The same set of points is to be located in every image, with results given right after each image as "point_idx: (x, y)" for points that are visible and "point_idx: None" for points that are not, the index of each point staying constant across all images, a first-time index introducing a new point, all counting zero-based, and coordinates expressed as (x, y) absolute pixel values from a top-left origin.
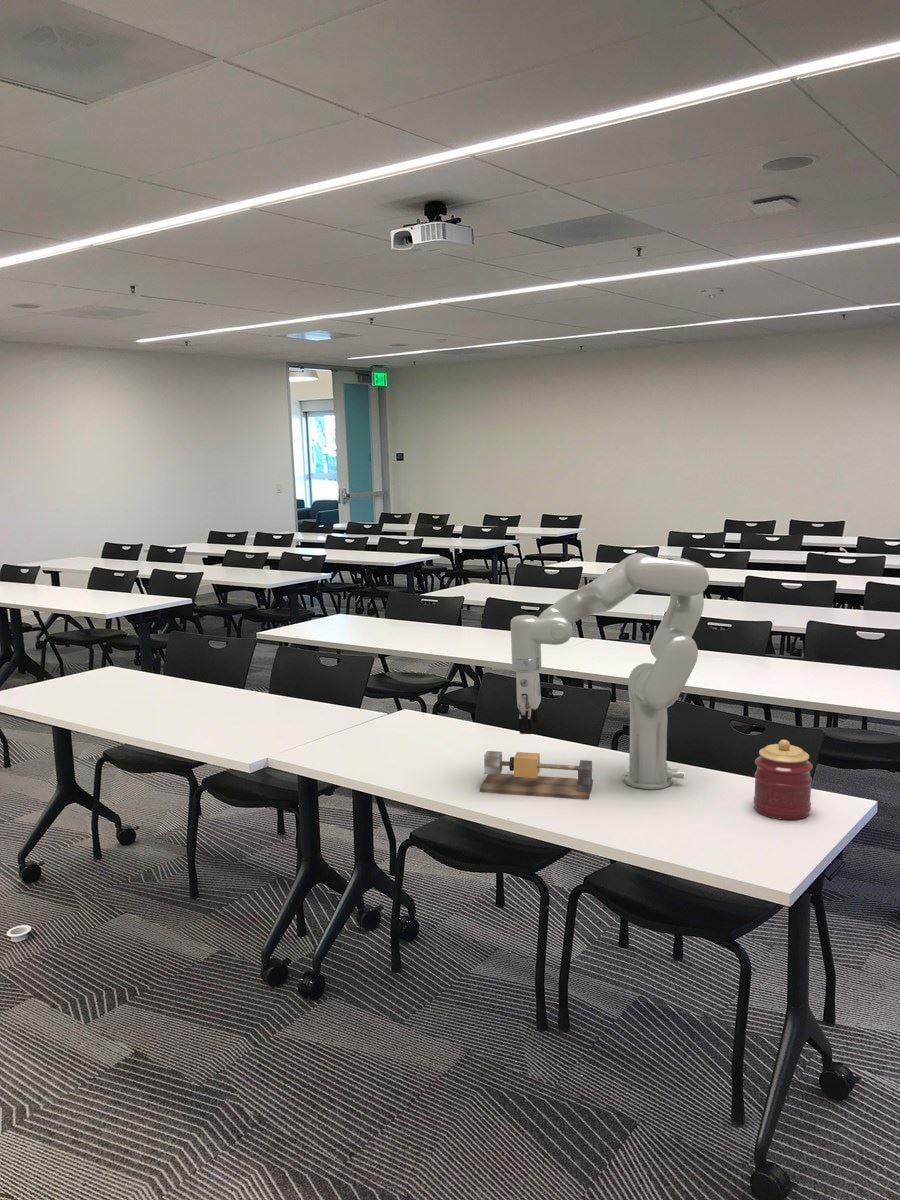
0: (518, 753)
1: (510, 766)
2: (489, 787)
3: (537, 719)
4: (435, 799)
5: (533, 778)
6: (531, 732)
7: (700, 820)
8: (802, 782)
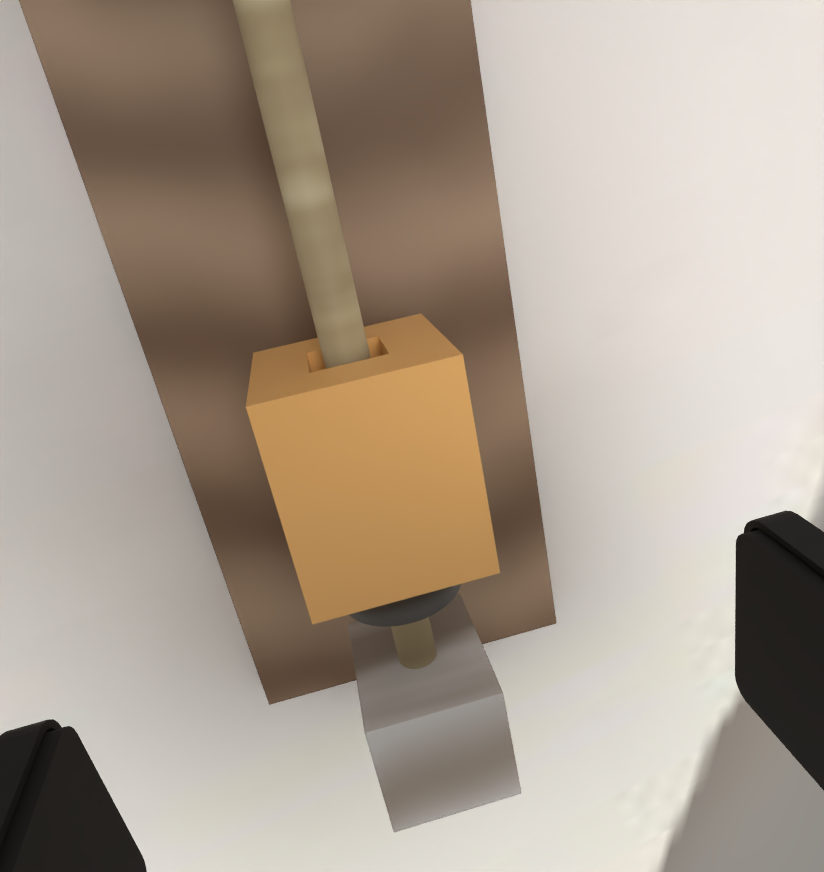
0: (352, 593)
1: None
2: (524, 581)
3: (25, 769)
4: (708, 733)
5: (231, 397)
6: (804, 524)
7: None
8: None
